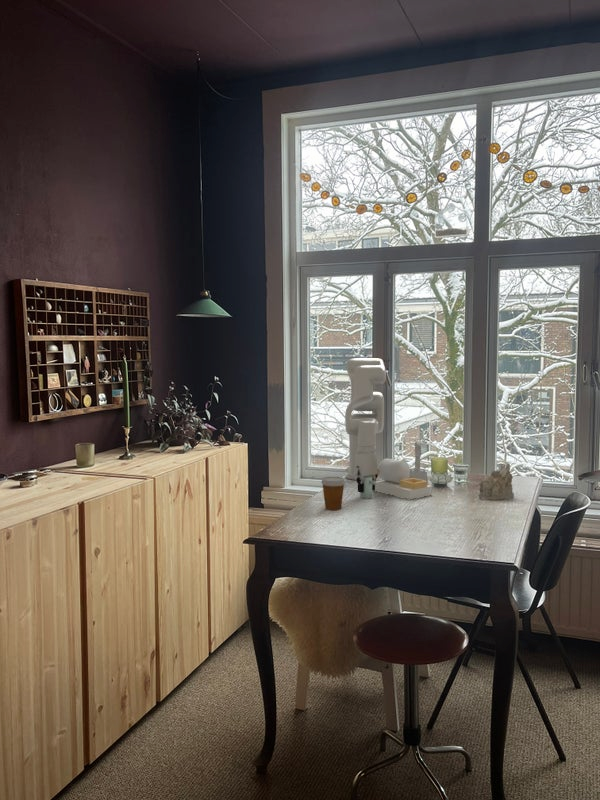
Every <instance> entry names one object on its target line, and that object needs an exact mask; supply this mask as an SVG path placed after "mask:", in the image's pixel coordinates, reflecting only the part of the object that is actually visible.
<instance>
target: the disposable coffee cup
mask: <svg viewBox="0 0 600 800" xmlns="http://www.w3.org/2000/svg"><path fill="white" fill-rule="evenodd" d="M321 484H322V485H321V486H322V491H323V498H324V499H323V500H324V507H325V510H329V511H340V510H342V504H343V496H344V489H345V484H346V481H345V478H344V477H341V476H325V477H323V478H322V481H321Z"/></svg>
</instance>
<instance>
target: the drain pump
mask: <svg viewBox="0 0 600 800" xmlns="http://www.w3.org/2000/svg"><path fill="white" fill-rule="evenodd" d="M376 481H377V480H376ZM376 481H372V476H366V477H364V480H363V484H364V493H361V492H359V493H360V494H359V495H360V496H359V497H360V498H361V499H365V498H366V499H365V500H367V498H369V499H372V498H373V491H372V484H373V485H375V484H376Z"/></svg>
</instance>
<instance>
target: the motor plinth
mask: <svg viewBox="0 0 600 800" xmlns="http://www.w3.org/2000/svg"><path fill="white" fill-rule="evenodd" d="M410 468H411V467H410V465H409V463H408V462H406V461H403V460H398V459H392V458H387V457H386V458H383V460H381V461H380V462H379V465H378V469H379V471H380V473H379V475H378V477H379V478H380V479H381V480H376V484H375V491H374V492H376V491H377V493H380V492H381V493H380V494H384V493H385V494H384V495H388V494H390V495H389V496H392V495H394V496H393V497H396V496H399V497H398V498H400V497H403V498H402V499H405V498H407V499H406V500H409V499H412V500H414V499H413V498H416V499H419V498H418V497H421V498H425V497H424V496H426V497H430V495H431V496H433V485H430V484H428V485H427V481H425V480H420V479H415V478H410V479H408V478H409V476H410Z"/></svg>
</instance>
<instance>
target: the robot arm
mask: <svg viewBox="0 0 600 800" xmlns="http://www.w3.org/2000/svg"><path fill="white" fill-rule="evenodd" d="M345 363H346V367H345V368H346V371H347V375H348V377H349V379H350V402H349V403H348V405H347V406H346V409H345V415H344V417H345V419H344V420H345V421H344V422H345V423H344V424H345V432H346V433H347V434H348V436H349V437H348V439H349V441H348V442H349V445H348V446H349V450H348V453H349V455H348V456H349V458H348V459H349V461H348V462H349V463H348V464H349V466H348V467H347V468H345V469H344V472H347V474H346V475H345V478H346V479H348V480H354V481H356V483H357V493H360V492H361V493H364V484H363V480H364V477H366V476H372V481H377V478H378V477H379V473H380V471H379V469H378V467H379V465H378V463H379V462H378V455H377V452H376V449H377V445H376V443H377V442H376V439H377V438H376V437H377V436H376V434H380V433H382V432H383V431H384V428H385V397H384V395H383V393H382V392H380V391H374V385H383V384H385V383H386V380H387V369H386V367H385V363H384V360H383V359H381V358H375V357H373V358H367V357H366V358H365V357H359V358H357V357H355V358H350V359H348V360H347V361H346V362H345ZM354 411H356V412H359V413H353V412H354ZM360 412H363V413H360ZM364 412H374V413H364ZM372 492H376V491H375V485H373V484H372Z"/></svg>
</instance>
